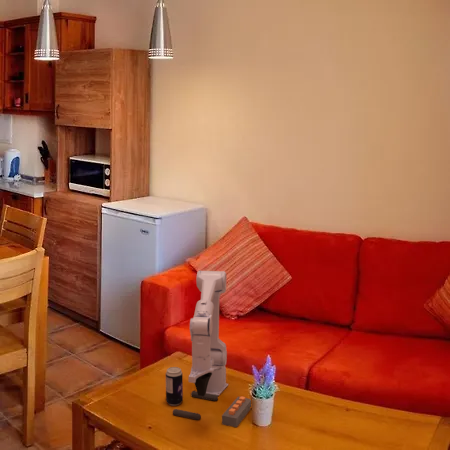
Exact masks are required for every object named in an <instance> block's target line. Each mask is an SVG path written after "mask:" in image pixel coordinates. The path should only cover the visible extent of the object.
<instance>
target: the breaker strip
mask: <svg viewBox="0 0 450 450" xmlns="http://www.w3.org/2000/svg"><path fill="white" fill-rule="evenodd" d="M250 399H251V398H247V397H246V396H237V397H236V399H234V401H233V402H232V403H231V404H230V405H229V407H228V408H227V409H226V410H225V411H224V412H223V414H221V425H224V426H229V427H234V428H238V426H240V424H241V422H242V421H243V420H244V419H245V417H246V416H247V414H248V413H249V412H250V411H251V409H250V407H251V400H250Z"/></svg>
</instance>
